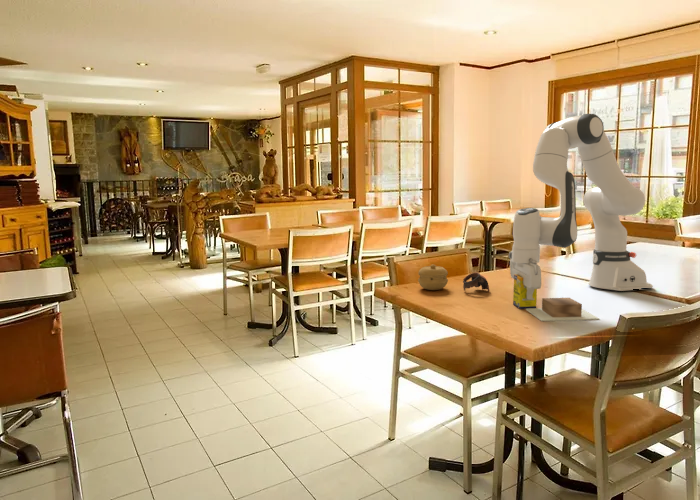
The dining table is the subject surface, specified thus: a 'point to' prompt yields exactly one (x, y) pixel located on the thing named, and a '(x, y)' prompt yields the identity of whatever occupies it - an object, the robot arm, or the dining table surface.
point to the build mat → (546, 317)
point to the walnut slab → (561, 307)
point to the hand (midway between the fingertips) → (524, 296)
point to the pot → (433, 277)
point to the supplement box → (522, 294)
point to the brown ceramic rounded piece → (475, 281)
